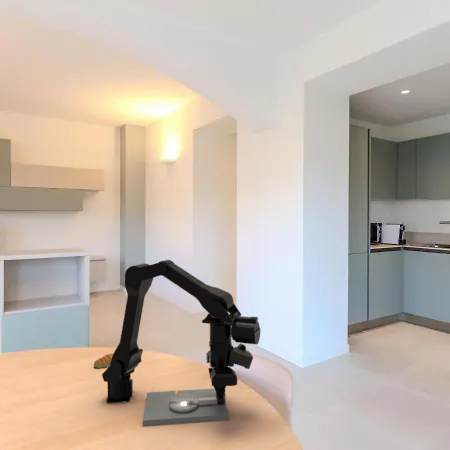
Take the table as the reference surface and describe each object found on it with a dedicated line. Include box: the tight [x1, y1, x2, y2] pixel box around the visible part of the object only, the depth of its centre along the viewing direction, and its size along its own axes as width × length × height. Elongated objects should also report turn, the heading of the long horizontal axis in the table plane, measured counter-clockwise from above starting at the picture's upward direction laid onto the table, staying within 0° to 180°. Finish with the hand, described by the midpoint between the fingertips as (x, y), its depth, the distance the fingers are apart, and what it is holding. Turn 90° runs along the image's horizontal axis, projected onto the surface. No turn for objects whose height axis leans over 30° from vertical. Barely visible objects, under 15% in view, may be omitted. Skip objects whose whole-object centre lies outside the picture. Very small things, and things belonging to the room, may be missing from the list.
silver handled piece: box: [169, 391, 226, 413], centre depth 106 cm, size 15×8×5 cm, turn 97°
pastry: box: [93, 353, 113, 369], centre depth 141 cm, size 9×7×4 cm
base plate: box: [142, 388, 230, 427], centre depth 108 cm, size 22×16×2 cm
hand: (220, 398), depth 104 cm, fingers closed
